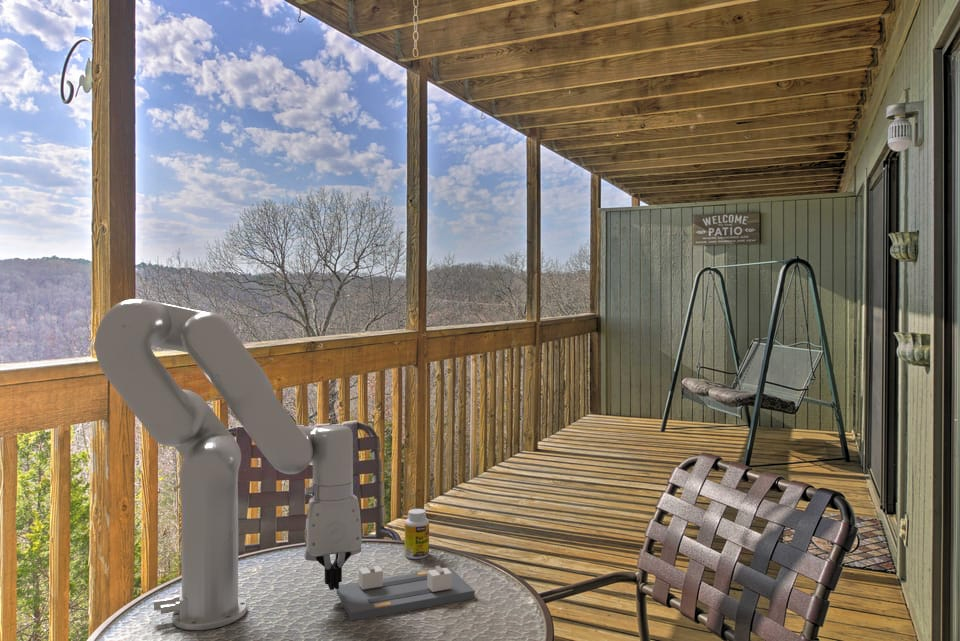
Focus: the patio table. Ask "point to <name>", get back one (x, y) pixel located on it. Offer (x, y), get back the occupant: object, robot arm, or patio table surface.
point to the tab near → (439, 579)
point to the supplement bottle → (416, 534)
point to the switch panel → (400, 595)
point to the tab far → (370, 577)
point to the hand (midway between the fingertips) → (333, 586)
